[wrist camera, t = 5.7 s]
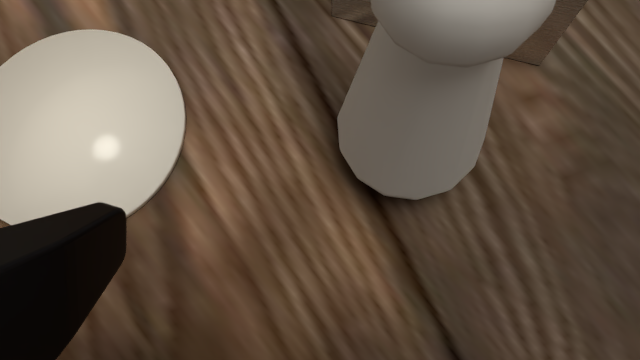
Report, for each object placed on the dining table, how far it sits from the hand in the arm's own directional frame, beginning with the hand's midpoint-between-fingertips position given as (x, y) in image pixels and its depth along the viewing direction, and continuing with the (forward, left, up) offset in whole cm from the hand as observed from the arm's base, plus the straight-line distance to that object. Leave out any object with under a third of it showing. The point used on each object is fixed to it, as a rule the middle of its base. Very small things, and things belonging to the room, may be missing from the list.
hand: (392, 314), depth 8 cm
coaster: (+11, +10, -13) cm, 20 cm away
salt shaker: (+7, -4, -14) cm, 16 cm away
